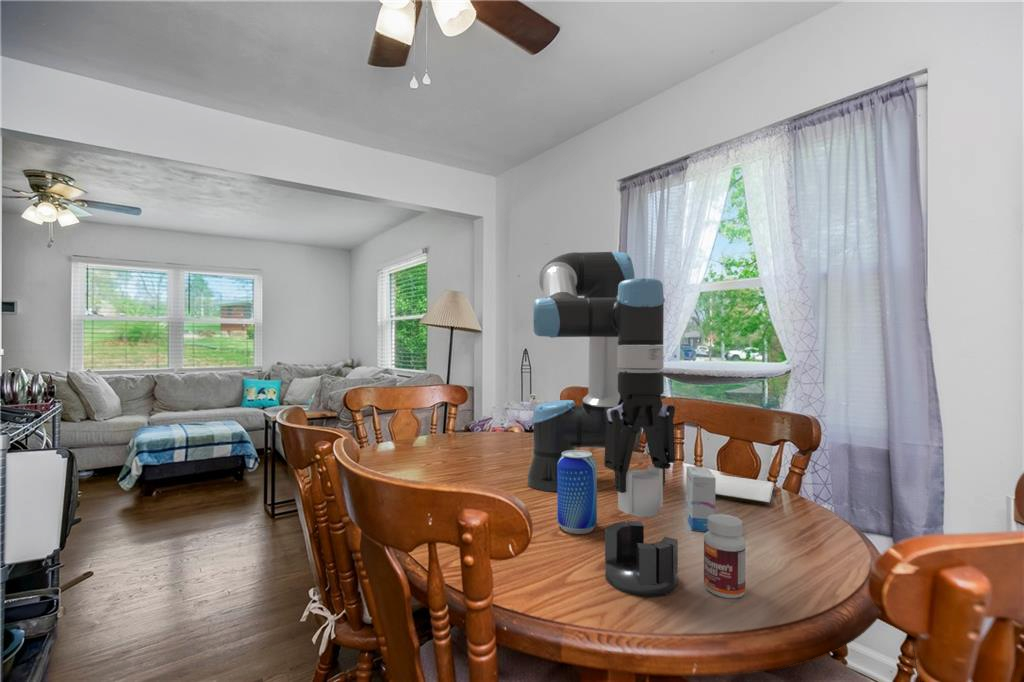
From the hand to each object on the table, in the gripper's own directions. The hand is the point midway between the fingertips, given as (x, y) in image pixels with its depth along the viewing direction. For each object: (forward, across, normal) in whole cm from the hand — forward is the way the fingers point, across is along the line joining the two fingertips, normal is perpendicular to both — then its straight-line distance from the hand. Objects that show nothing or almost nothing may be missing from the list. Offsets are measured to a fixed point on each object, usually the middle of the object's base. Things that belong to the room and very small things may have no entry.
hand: (640, 507), depth 80 cm
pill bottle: (+12, +10, -8) cm, 18 cm away
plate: (+12, +55, +26) cm, 62 cm away
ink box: (+12, +28, +13) cm, 34 cm away
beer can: (+12, +3, +23) cm, 26 cm away
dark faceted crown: (+12, 0, 0) cm, 12 cm away
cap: (0, 0, 0) cm, 0 cm away
